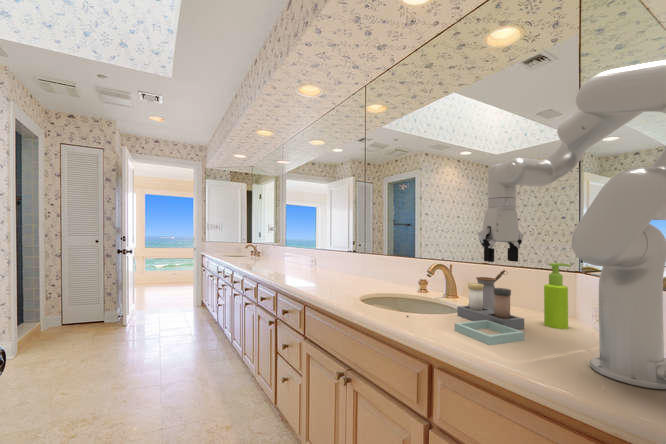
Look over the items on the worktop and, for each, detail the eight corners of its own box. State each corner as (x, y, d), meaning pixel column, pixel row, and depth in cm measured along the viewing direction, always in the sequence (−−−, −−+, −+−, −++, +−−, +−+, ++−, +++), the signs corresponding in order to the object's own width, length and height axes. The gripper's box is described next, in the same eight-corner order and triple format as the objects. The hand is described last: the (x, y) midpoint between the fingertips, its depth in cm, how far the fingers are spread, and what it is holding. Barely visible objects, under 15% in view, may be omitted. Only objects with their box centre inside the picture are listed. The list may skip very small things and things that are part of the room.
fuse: (486, 318, 100) (486, 284, 101) (475, 320, 99) (476, 285, 99) (475, 315, 105) (475, 282, 105) (465, 316, 103) (465, 283, 103)
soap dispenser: (576, 333, 90) (575, 264, 91) (549, 331, 91) (549, 263, 92) (565, 327, 96) (565, 262, 97) (540, 325, 97) (540, 262, 98)
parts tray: (524, 343, 80) (524, 332, 80) (489, 349, 76) (489, 336, 76) (486, 330, 91) (486, 319, 91) (454, 334, 87) (454, 323, 87)
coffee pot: (494, 320, 102) (494, 275, 103) (462, 313, 111) (462, 271, 112) (521, 311, 115) (521, 271, 116) (490, 305, 124) (490, 268, 125)
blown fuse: (514, 327, 91) (514, 290, 91) (503, 329, 89) (503, 290, 90) (501, 323, 95) (501, 287, 96) (490, 324, 94) (490, 288, 94)
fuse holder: (524, 332, 90) (524, 318, 90) (503, 335, 87) (503, 320, 87) (475, 316, 107) (475, 304, 107) (457, 318, 104) (457, 306, 104)
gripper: (511, 207, 100) (510, 259, 100) (470, 204, 94) (469, 260, 94) (533, 205, 93) (533, 262, 93) (490, 202, 87) (489, 263, 87)
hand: (501, 261), depth 93 cm, fingers open, 9 cm apart
